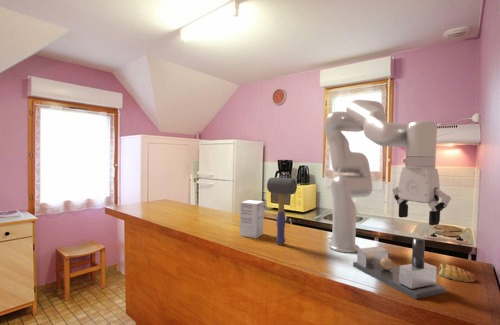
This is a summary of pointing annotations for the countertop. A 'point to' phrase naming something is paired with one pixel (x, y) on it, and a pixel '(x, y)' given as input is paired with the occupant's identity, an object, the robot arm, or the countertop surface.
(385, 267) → the tan wooden ball
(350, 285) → the countertop surface
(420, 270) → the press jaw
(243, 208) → the supplement box
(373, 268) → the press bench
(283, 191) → the rubber mallet
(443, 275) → the pastry
